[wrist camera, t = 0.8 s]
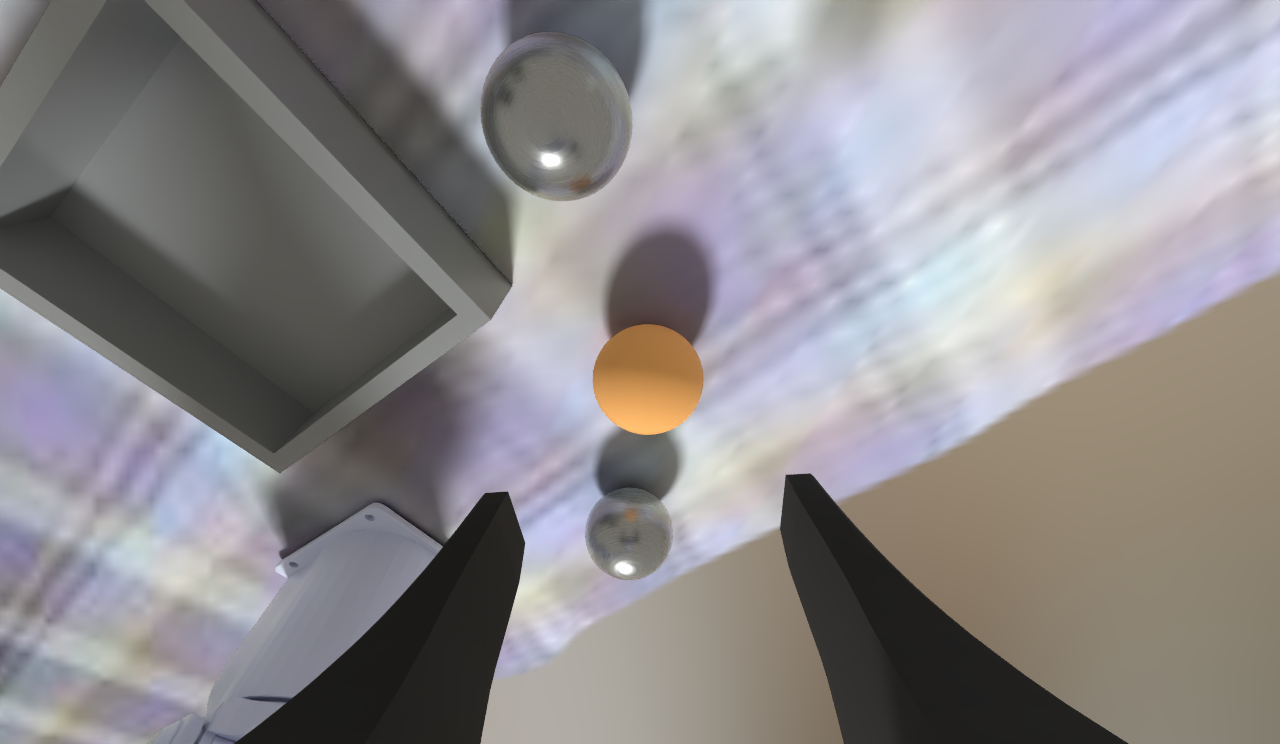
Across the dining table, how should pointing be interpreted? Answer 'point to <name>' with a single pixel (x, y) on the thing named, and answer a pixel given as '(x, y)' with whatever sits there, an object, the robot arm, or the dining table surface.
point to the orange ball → (648, 379)
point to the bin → (224, 221)
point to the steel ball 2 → (629, 533)
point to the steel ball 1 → (556, 116)
